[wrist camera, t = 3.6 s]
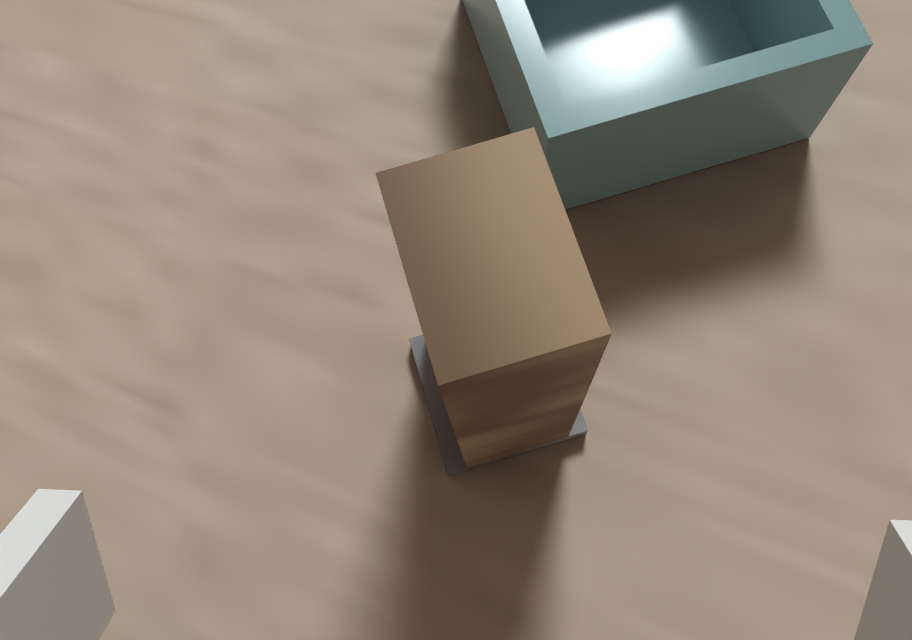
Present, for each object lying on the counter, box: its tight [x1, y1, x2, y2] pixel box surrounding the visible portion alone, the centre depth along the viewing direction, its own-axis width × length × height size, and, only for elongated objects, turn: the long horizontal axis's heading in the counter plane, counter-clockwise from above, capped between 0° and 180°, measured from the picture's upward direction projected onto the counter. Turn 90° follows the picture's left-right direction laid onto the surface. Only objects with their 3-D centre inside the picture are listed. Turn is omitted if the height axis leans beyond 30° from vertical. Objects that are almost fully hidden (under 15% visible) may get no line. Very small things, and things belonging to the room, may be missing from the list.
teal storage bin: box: [462, 0, 873, 210], centre depth 26 cm, size 10×10×5 cm
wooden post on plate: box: [376, 127, 612, 476], centre depth 20 cm, size 4×4×11 cm
